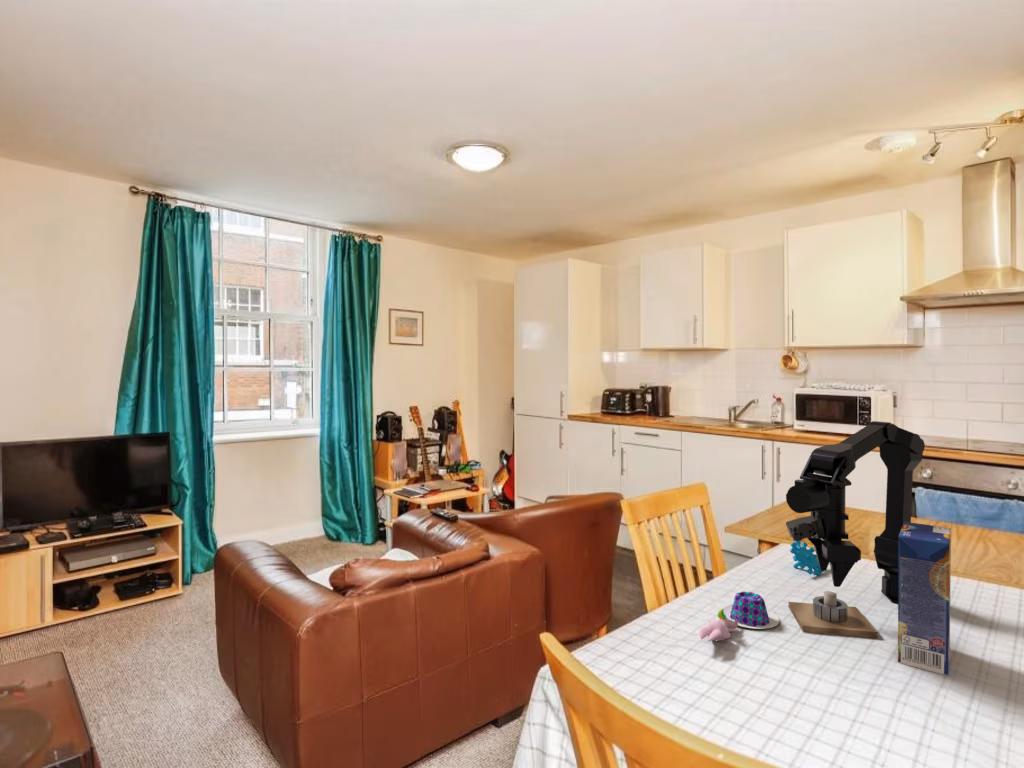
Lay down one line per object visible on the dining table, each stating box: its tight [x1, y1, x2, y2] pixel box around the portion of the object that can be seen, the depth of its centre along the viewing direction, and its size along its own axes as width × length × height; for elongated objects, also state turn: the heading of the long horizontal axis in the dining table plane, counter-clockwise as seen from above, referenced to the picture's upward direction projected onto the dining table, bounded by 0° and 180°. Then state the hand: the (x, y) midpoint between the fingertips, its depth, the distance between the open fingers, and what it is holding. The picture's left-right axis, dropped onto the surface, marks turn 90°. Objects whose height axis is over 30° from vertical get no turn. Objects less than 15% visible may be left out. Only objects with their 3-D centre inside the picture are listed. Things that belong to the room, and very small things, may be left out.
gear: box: [789, 541, 825, 577], centre depth 151 cm, size 11×6×10 cm
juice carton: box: [897, 522, 952, 676], centre depth 106 cm, size 12×8×24 cm, turn 141°
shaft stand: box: [787, 590, 878, 639], centre depth 121 cm, size 14×12×6 cm
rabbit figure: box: [698, 608, 740, 642], centre depth 114 cm, size 6×6×15 cm
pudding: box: [721, 591, 780, 630], centre depth 123 cm, size 12×12×5 cm
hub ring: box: [812, 595, 848, 623], centre depth 121 cm, size 6×6×3 cm
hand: (829, 578), depth 120 cm, fingers open, 9 cm apart
